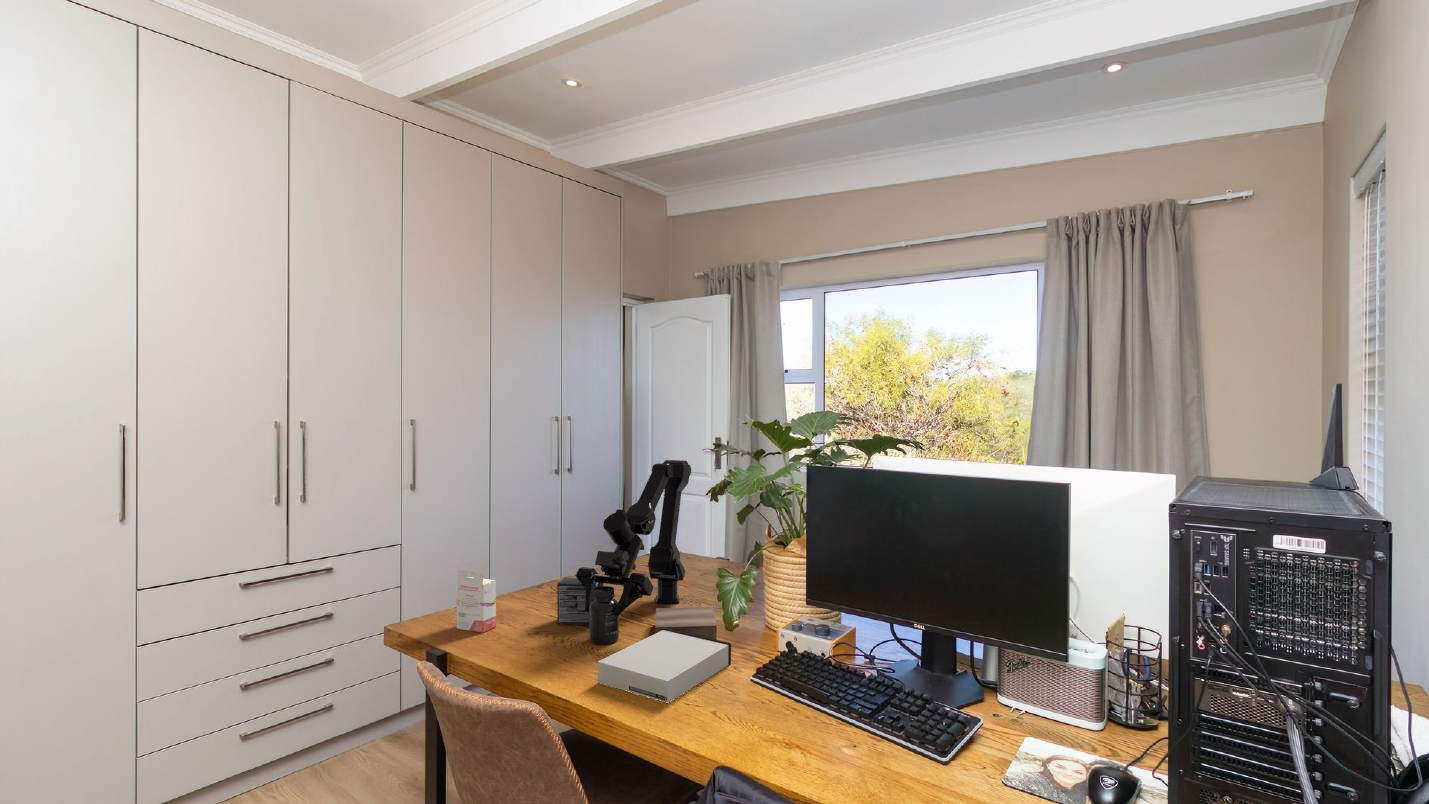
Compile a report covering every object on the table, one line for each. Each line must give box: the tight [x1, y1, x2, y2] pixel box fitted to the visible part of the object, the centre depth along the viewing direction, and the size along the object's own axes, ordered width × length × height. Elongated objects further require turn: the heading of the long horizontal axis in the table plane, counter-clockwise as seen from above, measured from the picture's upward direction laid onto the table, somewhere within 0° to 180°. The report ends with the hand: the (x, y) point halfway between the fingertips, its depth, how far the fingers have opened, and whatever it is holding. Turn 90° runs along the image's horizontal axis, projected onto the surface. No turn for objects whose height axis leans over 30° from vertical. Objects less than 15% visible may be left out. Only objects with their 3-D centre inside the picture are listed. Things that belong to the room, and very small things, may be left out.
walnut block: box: [655, 606, 718, 640], centre depth 162 cm, size 14×14×4 cm
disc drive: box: [597, 628, 732, 703], centre depth 139 cm, size 18×22×5 cm
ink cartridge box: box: [455, 568, 497, 633], centre depth 166 cm, size 9×5×15 cm, turn 68°
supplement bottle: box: [588, 585, 620, 646], centre depth 158 cm, size 7×7×12 cm
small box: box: [556, 577, 604, 626], centre depth 171 cm, size 11×6×10 cm, turn 84°
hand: (600, 613), depth 157 cm, fingers open, 8 cm apart
